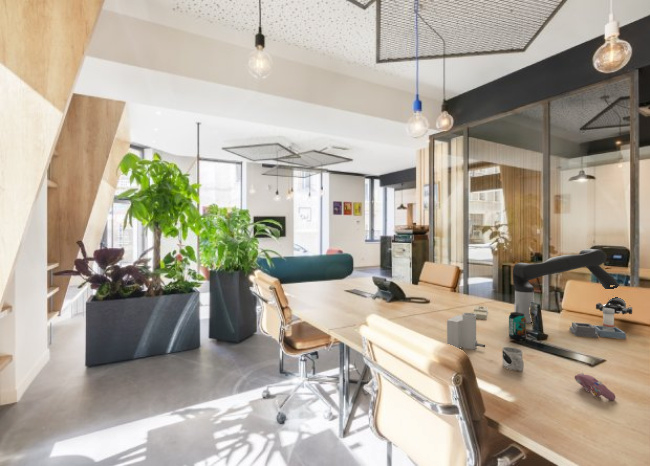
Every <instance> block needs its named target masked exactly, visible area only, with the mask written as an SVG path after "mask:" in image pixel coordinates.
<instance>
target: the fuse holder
mask: <svg viewBox="0 0 650 466" xmlns="http://www.w3.org/2000/svg"><path fill="white" fill-rule="evenodd" d="M569 332H571V333H572V334H573V335H574V336H575V337H586V338H595V339H598V338H599V335H598V333H596V332H595V327H593V325H592V324H591V323H587V322H575V321H573V322H571V326H569Z"/></svg>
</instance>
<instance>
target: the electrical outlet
mask: <svg viewBox="0 0 650 466" xmlns="http://www.w3.org/2000/svg"><path fill="white" fill-rule="evenodd" d="M488 308H489V307H488V306H484V305H483V306H481V305H475V307H474V309H473V313H474V314H476V318H477V319H476V320H485V319H486V321H487V320H488V313H489V312H488V311H489V309H488Z"/></svg>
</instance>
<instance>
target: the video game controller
mask: <svg viewBox="0 0 650 466" xmlns="http://www.w3.org/2000/svg"><path fill="white" fill-rule="evenodd" d="M574 380H575V381H576V383H577V384H579V386H581V387H582V388H583V389H584V390H585V391H586V390H587V391H586V392H588V391H589V392H588V393H590V392H591V393H592V395H594V396H595V395H596V396H595V397H597V396H598V398H599V396H600V397H603V398H605V399H607V400H609V401H615V400H616V395H615V393H614V392H613V391H611V390H610V389H609V388H608V387H607V386H606V385H605V384H604V383H603V382H602V381H599V380H598V379H596V377H594V376H592V375H589V374H584V373H583V372H582V373H577V374H576V375H575V376H574Z"/></svg>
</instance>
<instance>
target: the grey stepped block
mask: <svg viewBox="0 0 650 466" xmlns="http://www.w3.org/2000/svg"><path fill="white" fill-rule="evenodd" d="M446 335H447V336H446V338H447V339H446V341H447V344H450V345H453V346H455V347H457V348H459V349H460V347H461V349H467V350H476V349H477V347H480V348H484V349H485V348H486V344H483V343H479V342H478V340H477V319H476V314H474V312H473V313H472V312H463V313H462V314H456V315H455V316H453V317H451V318H449V319H447V320H446ZM447 344H446V345H447ZM462 347H463V348H462Z"/></svg>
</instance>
